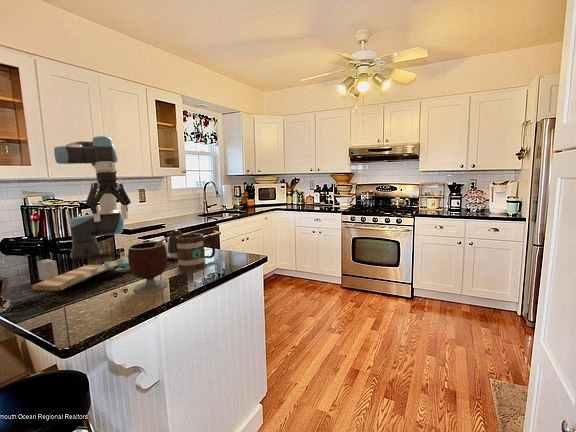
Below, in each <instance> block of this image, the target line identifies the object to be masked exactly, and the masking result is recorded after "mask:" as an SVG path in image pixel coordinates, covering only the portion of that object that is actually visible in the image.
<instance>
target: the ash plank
mask: <svg viewBox="0 0 576 432" xmlns="http://www.w3.org/2000/svg"><path fill="white" fill-rule="evenodd" d="M127 260H128V255H125V256H123V257H120V258H117V259H115V260H113V262H112V261H109V262H110V263H107V264H105V265H104V264H101V265H102V266H100V267H97V268H95V269H92V270H90V271H87V272H85V273H82V274H80V275H78V276H76V277H75V278H73V279H71V280H69V281H67V282H65V283H63V284H61V285H59V287H60V289H61V290H60V291H64V290H65V289H68V288H70V287H72V286H74V285H76V284H80V283H81V282H84V281H87V280H88V279H90V278H93V277H95V276H98V275H100V274H102V273H105V272H107V271H109V270H112V269H114V268H115V267H118V266H119V265H120V264H122V263H124V262H125V261H127Z"/></svg>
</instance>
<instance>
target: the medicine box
mask: <svg viewBox="0 0 576 432" xmlns="http://www.w3.org/2000/svg"><path fill="white" fill-rule="evenodd" d="M36 265H37V266H36V267H37V271H38V278H39V279H38V280H40V281H41V282H42V281H45V280H48V279H50V278H53V277H56V276H58V275H59V271H58V266H57V261H56V260H53V259H48V258H46V259H41V260H37V261H36Z"/></svg>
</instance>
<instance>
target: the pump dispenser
mask: <svg viewBox="0 0 576 432" xmlns="http://www.w3.org/2000/svg"><path fill="white" fill-rule="evenodd" d="M165 235H167V236H169V237H168V239H167V240H168V242H167V254H168V255H169V256H170V258H172V259H178V257H177V243H176V236H180V235H184V234H183V233H182V231H181V230H179V229H174V230H172V231H171V232H166V234H165Z"/></svg>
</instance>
